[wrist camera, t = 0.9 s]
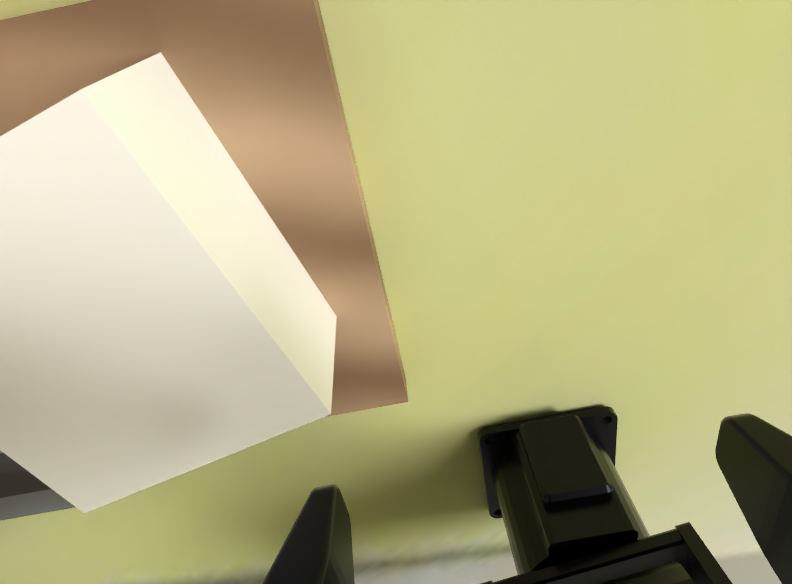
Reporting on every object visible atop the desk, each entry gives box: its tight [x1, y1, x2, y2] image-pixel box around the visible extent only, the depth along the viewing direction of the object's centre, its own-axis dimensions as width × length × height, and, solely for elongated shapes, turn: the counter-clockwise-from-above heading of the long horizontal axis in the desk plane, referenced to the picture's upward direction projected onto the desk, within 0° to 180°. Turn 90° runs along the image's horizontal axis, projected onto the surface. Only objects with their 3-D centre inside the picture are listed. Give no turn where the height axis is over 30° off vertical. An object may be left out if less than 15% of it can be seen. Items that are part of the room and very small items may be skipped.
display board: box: [0, 0, 408, 520], centre depth 17 cm, size 16×22×6 cm
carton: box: [0, 52, 337, 513], centre depth 16 cm, size 10×9×5 cm
